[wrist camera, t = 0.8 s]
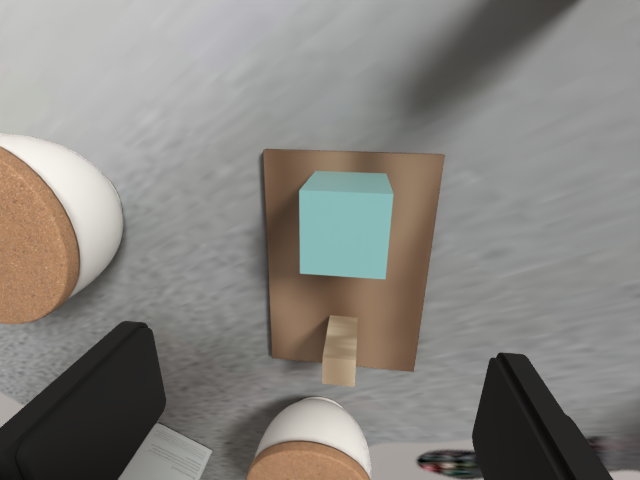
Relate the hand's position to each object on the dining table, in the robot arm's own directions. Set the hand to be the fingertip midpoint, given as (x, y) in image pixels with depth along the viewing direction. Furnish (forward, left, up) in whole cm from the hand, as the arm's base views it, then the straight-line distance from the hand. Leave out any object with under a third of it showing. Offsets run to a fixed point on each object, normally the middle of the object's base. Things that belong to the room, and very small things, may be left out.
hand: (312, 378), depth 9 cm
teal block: (0, 0, -18) cm, 18 cm away
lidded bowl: (+23, +1, -19) cm, 30 cm away
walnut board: (0, +5, -19) cm, 19 cm away
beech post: (0, +11, -19) cm, 21 cm away
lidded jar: (+2, +23, -19) cm, 30 cm away
